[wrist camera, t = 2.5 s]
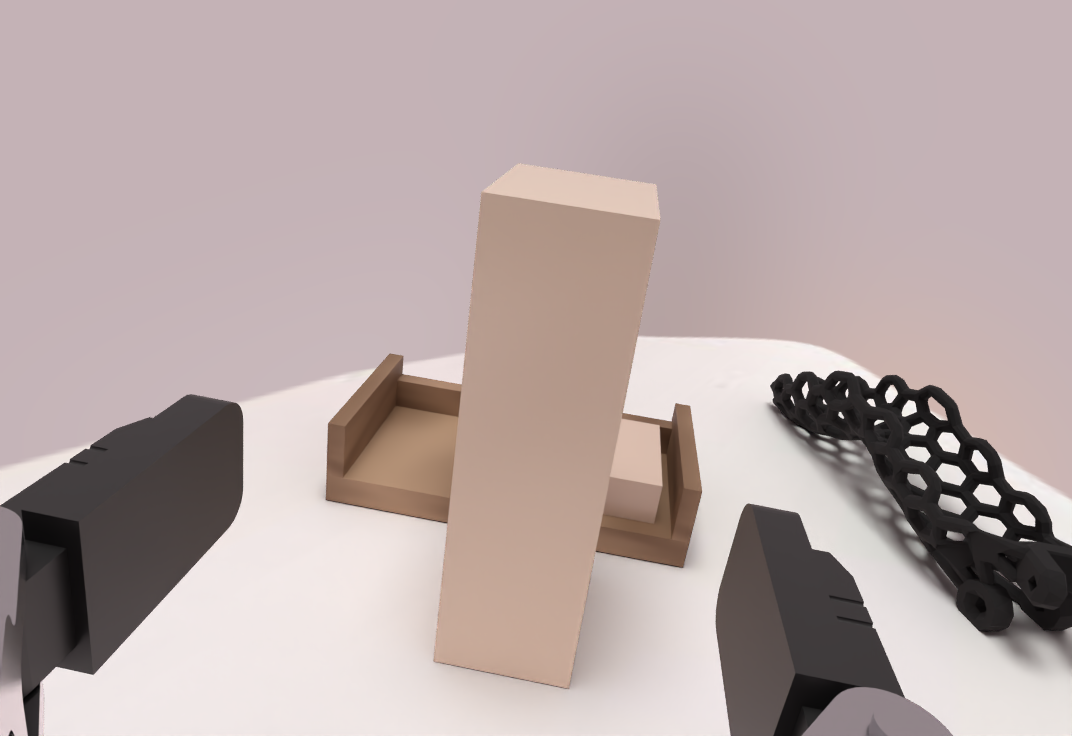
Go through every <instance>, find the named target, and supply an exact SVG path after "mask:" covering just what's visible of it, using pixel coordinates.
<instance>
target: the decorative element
mask: <svg viewBox="0 0 1072 736" xmlns="http://www.w3.org/2000/svg"><path fill="white" fill-rule="evenodd" d="M806 381H807V382H808V388H809V391H808V394H807V397H806V399H805V398H804V396H803V393H802V387H803V386H804V384H805V383H806ZM838 381H840V383H839V384H838V385H837V386H835V385H836V384H837V383H838ZM890 385H894V386H895V388H896V390H897V391H898V395H897V396H896V398H895V399H894V400H893V402H892V403H887V402H886V399H885V393H886V391H887V390H888V388H889V386H890ZM770 387H771V389H772V391H773V395H774V398H773V403H774V404H775V405H776V406H777V407H778V408H779V409H780V410H781V411H782V412H783V413H784V414H785V415H786V416H787V417H788V418H789V419H791V420H792V421H793V422H795V423H797V424H798V425H800V426H802V427H804V428H806V429H807V430H809V431H811V432H814V433H817V434H820V435H826V436H831V437H834V438H837V439H840V440H861V441H862V442H863V443H864V445H865V446H866V447H867V449H868V451H869V453H870V454H871V456H872V459H873V462H874V465H875V468H876V471H877V473H878V474H879V476H880V478H881V479H882V481H883V483H884V484H885V486H886V487H887V488H888V490H889V491H890V493H891V494H892V495H893V497H894V498H895V500H896V501H897V503H898V504H899V506H900V507H901V509H902V511H903V512H904V514H905V516H906V519H907V521H908V522H909V524H910V525H911V527H912V528H913V529H914V531H915V532H916V534H917V535H918V536H919V538H920V539H921V541H922V542H923V543H924V545H925V546H926V548H927V549H928V551H929V552H930V554H931V555H932V556H933V557H934V559H935V560H936V561H937V563H938V564H939V565H940V567H941V568H942V569H943V571H944V572H945V573H946V575H947V576H948V577H949V578H950V580H951V581H952V582H953V584H954V585H955V586H956V588H957V589H958V592H957V601H956V604H957V606H958V609H959V611H960V612H961V613H962V614H963V615H964V616H965V617H966V618H967V619H968V620H969V621H970V622H971V623H972V624H973V625H974V626H975V627H976V628H977V629H978V630H979V631H1000V630H1003V629H1005V628H1008V627H1009V625H1010V623H1011V621H1012V619H1013V617H1014V612H1013V603H1012V599H1013V600H1015V601H1016V602H1017V603H1019V604H1020V605H1021V609H1022V610H1023V611H1024V612H1025V613H1026V614H1027V615H1028V616H1029V617H1030V618H1031V619H1033V620H1034V621H1035V622H1036V623H1037V624H1038V625H1039V626H1040V627H1041V628H1042V629H1043V630H1065V629H1067V628H1070V627H1072V546H1071V545H1068V544H1066V543H1064V542H1062V541H1060V540H1058V539H1056V538H1055V537H1054V534H1053V532H1052V521H1051V519H1050V516H1049V514H1048V512H1047V509H1046V508H1045V507H1044V506H1043V504H1042V503H1041V502H1040V501H1039V500H1038V499H1037V498H1036V497H1035V496H1033V495H1031V494H1029V493H1027V492H1022V491H1016V490H1014V489H1013V488H1012V487H1011V486H1010V484H1009V483H1008V482H1007V481H1006V480H1005V476H1004V472H1003V468H1002V462H1001V459H1000V457H999V455H998V453H997V452H996V450H995V449H994V448H993V447H992V446H991V445H990V444H989V443H988V442H987V440H984V439H981V438H974V437H972V436H971V435H970V434H969V432H968V431H967V430H966V428H965V427H964V426H963V424H962V420H961V417H960V413H959V410H958V406H957V404H956V403H955V402H954V400H953V399H952V398H951V397H950V396H948V395H947V394H946V393H945V392H944V391H943V390H942V389H941V388H939V387H936V386H932V385H928V386H926V387H924V388H922V389H920V390H914V389H909V387H908V386H907V384H906V382H905V381H904V380H903V379H902V378H900V377H899V376H897V375H887V376H885V377H883V378H882V379H881V381H880V382H879V384H878V385H877V387H876V388H875V389H874V388H869V386H868V384H867V382H866V381H865V380H863V379H862V378H861V377H860V376H855V375H854V374H853V373H850V372H843V371H834V372H833V373H831V374H830V375H829V376H828V377H827V378H826V380H823V379H821V378H819V377H817V376H816V375H815V374H814V373H813V372H802V373H800V374H798V376H797V377H796V379H795V380H794V382H793V380H792V378H791V376H790V374H782V375H779V376H778V378H777V379H776V380H775V381H774V382H773V383H772V384H771V385H770ZM847 389H848V392H849V394H848V397H847V398H846V395H845V392H846V390H847ZM791 395H792V397H793V399H794V404H795V406H794V404H793V402H792V400H791V399H790V398H791ZM931 396H932V397H933V398H934V399H935V400H936V401H937V402H938V403H940V404H941V405H942V406H943V407H944V408H945V411H946V415H947V419H948V421H946V420H939V419H938V418H936V417H935V416H934V415H933V414H931V413H930V409H929V406H928V399H929V398H930V397H931ZM823 399H824V400H825V402H826V403H827V405H825V404H823ZM868 399H874V402H875V405H876V407H873V406H870V404H869V403H868V402H867V400H868ZM908 400H911V401H915V403H916V408H917V412H916V413H914V414H911V415H909V416H906V417H903V416H902V409H903V407H904V405H905V404H906V403H907V401H908ZM839 412H842V414H843V416H844V419H842V418H840V417H839V416H838V414H839ZM810 414H811V415H810ZM877 420H884V422H882V423H880V424H878V425H874V422H875V421H877ZM922 422H924V423H925V424H926V425H927V426H929V429H928V431H927V434H926V436H922V435H912V434H909V433H908V432H909V430H910V429H911V427H912V426H914V425H917V424H920V423H922ZM942 432H947V433H953V434H954V436H955V437H956V438H957V440H958V441H959V443H960V448H959V452H958V454H956V453H951V452H946V451H943V450H942V448H941V446H940V445H939V443H938V442H937V440H938V438H939V436H940V434H941V433H942ZM909 446H915V447H926V449H927V450H928V452H929V453H930V455H931V457H930V458H929V459H928V461H927V462H926V463H924V462H921V461H917V460H914V459H912V458H910V457H909V456H908V455H907V453H906V451H905V449H906V448H908V447H909ZM974 450H979V452H980V453H981V454H982V456H983V457H984V458H985V459H986V461H987V465H988V472H981V471H979V470H978V469H977V468H976V466H975V465H974V463H973V462H972V461H971V459H972V455H973V451H974ZM942 463H945V464H950V465H954V466H958V467H959V468H960V469H961V470H962V472H963V473H964V474H965V475H966V478H965V480H964V481H963V483H962V484H961V486H959V485H955V484H951V483H947V482H943V481H942V480H941V479H940V477H939V476H938V474H937V473H936V471H937V469H938V468H939V466H940V465H941V464H942ZM908 473H910V474H920V475H921V477H922V478H923V480H924V481H925V483H926V484H927V486H928V487H927V489H926V490H925V491H924V490H922V489H920V488H918V487H916V486H914V485H912V484H910V483H909V481H908V479H907V475H908ZM979 484H984V485H990V486H993V487H994V488H995V489H996V491H997V492H998V493H999V494H1000V496H1001V500H1000V503H999V506H993V505H989V504H984V503H980V502H979V500H978V499H977V498H976V497H975V496H974V495H973V492H974V491H975V489H976V488H977V487H978V485H979ZM941 494H945V495H949V496H953V497H957V498H961V499H962V501H963V502H964V504H965V505H966V507H967V508H966V509H965V510H964V511H963V513H962V514H961V515H958V514H955V513H952V512H949V511H946V510H942V509H941V508H940V507H939V505H938V501H939V498H940V495H941ZM1016 504H1020V505H1024V506H1025V507H1026V508H1027V509H1028V510H1029V511H1030V513H1031V514H1032V515H1033V516H1034V517H1035V527H1033V526H1027V525H1023V524H1022V523H1020V522H1019V521H1018V520H1017V518H1016V517H1015V516H1014V514H1013V510H1014V507H1015V505H1016ZM921 511H924V512H925V514H926V515H925V514H924V513H922V512H921ZM978 515H981V516H986V517H991V518H996V519H998V520H1000V521H1001V522H1002V523H1003V524H1004V525H1005V527H1006V528H1007V530H1006V532H1005V533H1004V535H1003V537H1000V536H997V535H994V534H990V533H987V532H985V531H982V530H980V529H978V528H977V526H976V525H975V524H973V522H974V521H975V519H976V518H977V517H978ZM947 531H953V532H958V533H962V534H963V535H964V536H965V539H964V540H963V541H953V540H951V539H949V538H947V537H946V535H947ZM1021 538H1024V539H1028V540H1033V541H1037V542H1024V541H1019V540H1020V539H1021ZM994 570H996V571H999V572H1001V573H1002V574H1003V575H1004V576H1005V577H1006V578H1007V579H1008V580H1009V581H1008V580H1007V579H1005V578H1004V577H1002V576H1001V575H1000V574H998V573H997V572H995V571H994ZM975 573H976V574H977V575H978V576H979V577H978V576H977V575H976V574H975ZM1011 582H1016V583H1017V584H1018V585H1019V587H1020V588H1021V589H1020V588H1018V587H1017V586H1015V585H1014V584H1012V583H1011ZM1011 598H1012V599H1011Z"/></svg>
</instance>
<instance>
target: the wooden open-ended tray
mask: <svg viewBox="0 0 1072 736" xmlns="http://www.w3.org/2000/svg"><path fill="white" fill-rule="evenodd" d="M402 370H403V356H401V355H395V354H389V355H388V356H387V357H386V359H385V360H384V361H383V362H382V363H381V364H380V365H379V366H378V367H377V369H376V370H375V371H374V372H373V373H372V374H371V375H370V377H369V378H368V379H367V380H366V381H365V382H364V383H363V384H362V386H361V387H360V388H359V389H358V390H357V391H356V392H355V393H354V395H353V396H352V397H351V398H350V399H349V400H348V401H347V403H346V404H345V405H344V406H343V407H342V408H341V409H340V410H339V412H338V413H337V414H336V415H335V416H334V417H333V418H332V420H331V421H330V422H329V423H328V445H327V480H326V500H331V501H336V502H342V503H347V504H352V505H357V506H363V507H368V508H373V509H379V510H384V511H389V512H394V513H400V514H405V515H410V516H415V517H421V518H426V519H431V520H436V521H442V522H447V523H448V515H449V505H450V495H451V486H452V476H453V466H454V456H455V447H456V437H457V427H458V417H459V408H460V398H461V388H462V385H461V384H455V383H449V382H444V381H438V380H432V379H427V378H421V377H415V376H409V375H404V374H402ZM622 419H626V420H632V421H638V422H643V423H649V424H655V425H660V445H661V466H662V491H661V495H660V499H659V504H658V508H657V512H656V517H655V521H654V524H653V523H647V522H642V521H637V520H631V519H626V518H620V517H615V516H610V515H604V514H603V516H602V521H601V526H600V531H599V536H598V541H597V546H596V551H600V552H605V553H610V554H615V555H621V556H626V557H631V558H637V559H642V560H647V561H652V562H658V563H663V564H668V565H673V566H679V567H683V565H684V561H685V557H686V553H687V549H688V545H689V541H690V538H691V534H692V530H693V526H694V522H695V518H696V514H697V510H698V506H699V502H700V498H701V494H702V487H701V480H700V473H699V466H698V459H697V452H696V444H695V437H694V430H693V423H692V416H691V409H690V406H688V405H682V404H675V409H674V413H673V417H672V422H670V421H665V420H659V419H653V418H648V417H642V416H636V415H631V414H625V413H623V414H622Z"/></svg>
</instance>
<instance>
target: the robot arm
mask: <svg viewBox="0 0 1072 736" xmlns="http://www.w3.org/2000/svg"><path fill="white" fill-rule="evenodd" d="M242 494H243V414H242V410H241V408H240V406H239V405H238V404H237V403H234V402H228V401H223V400H218V399H213V398H207V397H203V396H197V395H186V396H185V397H183V398H181V399H180V400H179V401H177V402H176V403H174V404H173V405H171V406H170V407H169V408H167V409H166V410H164V411H163V412H161V413H160V414H158V415H157V416H155V417H154V418H150V417H149V418H146V419H143V420H141V421H137V422H135V423H132V424H129V425H126V426H123V427H120V428H117V429H115V430H113V431H112V432H110V433H109V434H107V435H106V436H104V437H103V438H101V439H100V440H98V441H97V442H95V443H94V444H92V445H91V447H90V449H85V450H83V451H82V452H80V453H79V454H77V455H76V456H74V457H73V458H71V459H70V462H69V463H64V464H62V465H61V466H59V467H58V468H56V469H54V470H53V471H51V472H50V473H48V474H47V475H45V476H44V477H42V478H41V479H39V480H38V481H36V482H35V483H33V484H32V485H30V486H29V487H27V488H26V489H24V490H23V491H21V492H20V493H18V494H17V495H15V496H14V497H12V498H11V499H9V500H8V501H6V502H5V503H3V504H2V505H0V736H44V691H43V683H42V680H43V679H44V678H45V677H46V676H47V675H48V674H49V673H50V672H51V671H52V670H53V669H54V668H55V667H60V668H65V669H69V670H74V671H78V672H83V673H87V674H92V675H94V674H95V673H96V671H97V670H98V669H99V668H100V667H101V666H102V665H103V664H104V663H105V662H106V661H107V660H108V658H109V657H110V656H111V655H112V654H113V653H114V652H115V651H116V650H117V649H118V648H119V646H120V645H121V644H122V643H123V642H124V641H125V640H126V639H127V638H128V637H129V636H130V635H131V633H132V632H133V631H134V630H135V629H136V628H137V627H138V626H139V625H140V624H141V623H142V621H143V620H144V619H145V618H146V617H147V616H148V615H149V614H150V613H151V612H152V611H153V610H154V608H155V607H156V606H157V605H158V604H159V603H160V602H161V601H162V600H163V599H164V598H165V597H166V595H167V594H168V593H169V592H170V591H171V590H172V589H173V588H174V587H175V586H176V585H177V583H178V582H179V581H180V580H181V579H182V578H183V577H184V576H185V575H186V574H187V573H188V572H189V570H190V569H191V568H192V567H193V566H194V565H195V564H196V563H197V562H198V561H199V560H200V558H201V557H202V556H203V555H204V554H205V553H206V552H207V551H208V550H209V549H210V548H211V547H212V545H213V544H214V543H215V542H216V541H217V540H218V539H219V538H220V537H221V536H222V535H223V534H224V532H225V531H226V530H227V529H228V528H229V527H230V526H231V524H232V522H233V521H234V519H235V517H236V515H237V513H238V510H239V507H240V504H241V499H242ZM863 604H864V601H863V599H862V597H861V594H860V592H859V590H858V587H857V585H856V583H855V580H854V578H853V576H852V575H851V574H850V573H849V572H848V571H847V570H846V569H845V568H844V567H843V566H842V565H841V564H840V563H839V562H838V561H837V560H836V559H835V558H834V557H833V556H832V555H831V553H829V552H824V551H819V550H814V549H812V548H811V545H810V542H809V540H808V537H807V534H806V532H805V529H804V526H803V523H802V521H801V518H800V516H799V514H798V513H795V512H790V511H784V510H779V509H774V508H769V507H764V506H759V505H754V504H747V505H746V506H745V507H744V509H743V511H742V514H741V517H740V520H739V523H738V527H737V530H736V533H735V537H734V540H733V544H732V547H731V551H730V554H729V557H728V561H727V564H726V568H725V571H724V575H723V578H722V582H721V585H720V589H719V594H718V599H717V607H716V632H717V640H718V647H719V654H720V661H721V669H722V676H723V683H724V690H725V698H726V705H727V712H728V719H729V726H730V734H731V736H953V735H952V734H951V733H950V731H949V730H948V729H947V728H946V727H945V726H944V725H943V724H942V723H941V722H940V721H939V720H937V719H936V718H935V717H934V716H933V715H931V714H930V713H929V712H927V711H926V710H924V709H923V708H922V707H920V706H919V705H917V704H915V703H913V702H911V701H910V700H908V699H906V698H905V697H904V695H903V692H902V690H901V688H900V685H899V683H898V681H897V678H896V676H895V674H894V671H893V669H892V667H891V664H890V662H889V660H888V657H887V655H886V653H885V650H884V648H883V646H882V643H881V641H880V639H879V636H878V634H877V632H876V629H874V628H872V625H873V622H872V620H871V618H870V615H869V613H868V611H867V608H866V607H863Z"/></svg>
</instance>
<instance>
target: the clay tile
mask: <svg viewBox="0 0 1072 736" xmlns="http://www.w3.org/2000/svg"><path fill="white" fill-rule="evenodd" d="M661 491H662V466H661V445H660V425H655V424H649V423H643V422H638V421H632V420H626V419H621V424H620V429H619V434H618V439H617V444H616V449H615V454H614V460H613V465H612V470H611V475H610V480H609V485H608V490H607V495H606V500H605V506H604V511H603V514H604V515H610V516H615V517H620V518H626V519H631V520H637V521H642V522H647V523H653V524H654V521H655V517H656V512H657V508H658V504H659V499H660V495H661Z"/></svg>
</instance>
